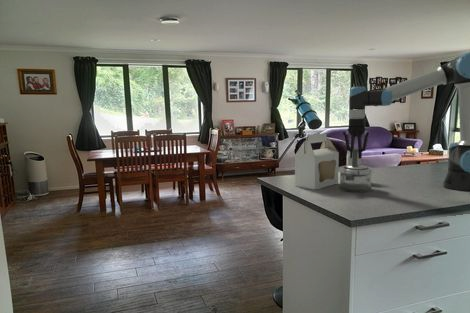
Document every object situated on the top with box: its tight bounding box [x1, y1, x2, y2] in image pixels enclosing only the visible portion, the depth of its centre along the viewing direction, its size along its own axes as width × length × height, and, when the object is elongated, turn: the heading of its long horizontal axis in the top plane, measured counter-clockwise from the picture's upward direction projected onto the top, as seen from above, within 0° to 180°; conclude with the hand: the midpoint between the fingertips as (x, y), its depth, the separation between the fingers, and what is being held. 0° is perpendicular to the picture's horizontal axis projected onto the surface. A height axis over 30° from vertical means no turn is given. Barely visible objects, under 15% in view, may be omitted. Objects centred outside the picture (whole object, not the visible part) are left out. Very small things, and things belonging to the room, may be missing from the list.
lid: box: [344, 147, 367, 170], centre depth 174 cm, size 10×10×10 cm
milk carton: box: [346, 147, 363, 165], centre depth 194 cm, size 7×7×19 cm
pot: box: [338, 165, 374, 193], centre depth 173 cm, size 16×22×11 cm
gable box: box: [294, 132, 340, 191], centre depth 187 cm, size 22×13×28 cm, turn 131°
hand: (355, 164), depth 175 cm, fingers closed on lid, 2 cm apart
